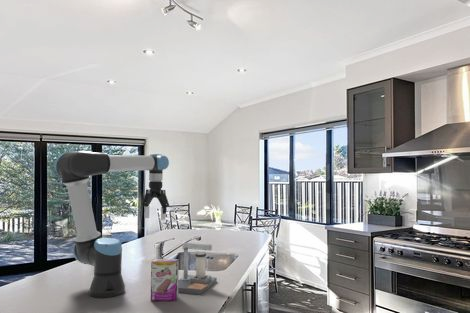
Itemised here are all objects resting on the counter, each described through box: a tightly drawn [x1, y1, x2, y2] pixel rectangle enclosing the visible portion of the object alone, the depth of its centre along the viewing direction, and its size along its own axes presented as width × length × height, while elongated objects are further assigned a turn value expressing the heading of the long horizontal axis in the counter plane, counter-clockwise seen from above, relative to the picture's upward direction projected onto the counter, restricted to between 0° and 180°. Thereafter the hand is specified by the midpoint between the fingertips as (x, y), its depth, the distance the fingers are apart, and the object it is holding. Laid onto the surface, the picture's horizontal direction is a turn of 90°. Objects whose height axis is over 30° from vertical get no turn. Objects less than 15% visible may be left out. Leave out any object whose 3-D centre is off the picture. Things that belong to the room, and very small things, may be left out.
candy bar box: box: [150, 258, 180, 302], centre depth 151 cm, size 11×5×16 cm, turn 92°
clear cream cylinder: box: [194, 250, 207, 279], centre depth 169 cm, size 5×5×14 cm
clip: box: [182, 242, 213, 252], centre depth 170 cm, size 3×15×2 cm, turn 72°
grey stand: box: [178, 249, 218, 295], centre depth 168 cm, size 20×16×17 cm
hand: (154, 218), depth 200 cm, fingers open, 13 cm apart
